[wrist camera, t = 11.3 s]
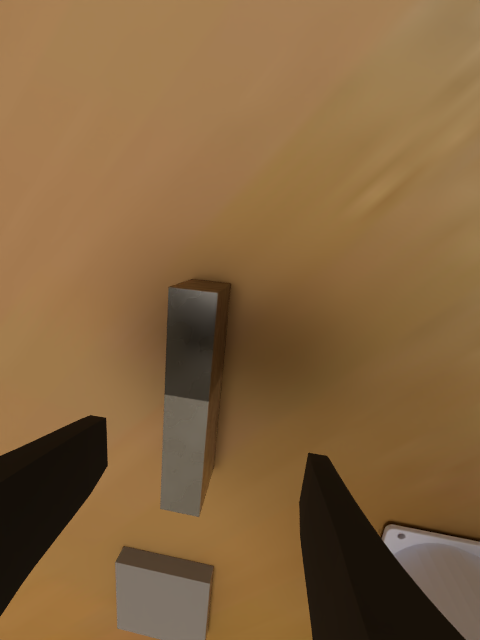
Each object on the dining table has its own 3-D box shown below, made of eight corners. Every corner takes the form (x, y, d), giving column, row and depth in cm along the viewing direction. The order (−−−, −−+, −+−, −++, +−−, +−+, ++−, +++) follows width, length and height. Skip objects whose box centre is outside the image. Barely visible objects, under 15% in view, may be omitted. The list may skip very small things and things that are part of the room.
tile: (209, 583, 22) (204, 650, 24) (214, 561, 24) (208, 625, 26) (115, 562, 23) (117, 628, 25) (126, 541, 25) (127, 605, 27)
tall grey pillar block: (192, 278, 18) (168, 286, 14) (231, 283, 18) (217, 293, 14) (181, 462, 21) (160, 508, 18) (213, 468, 21) (199, 516, 17)
